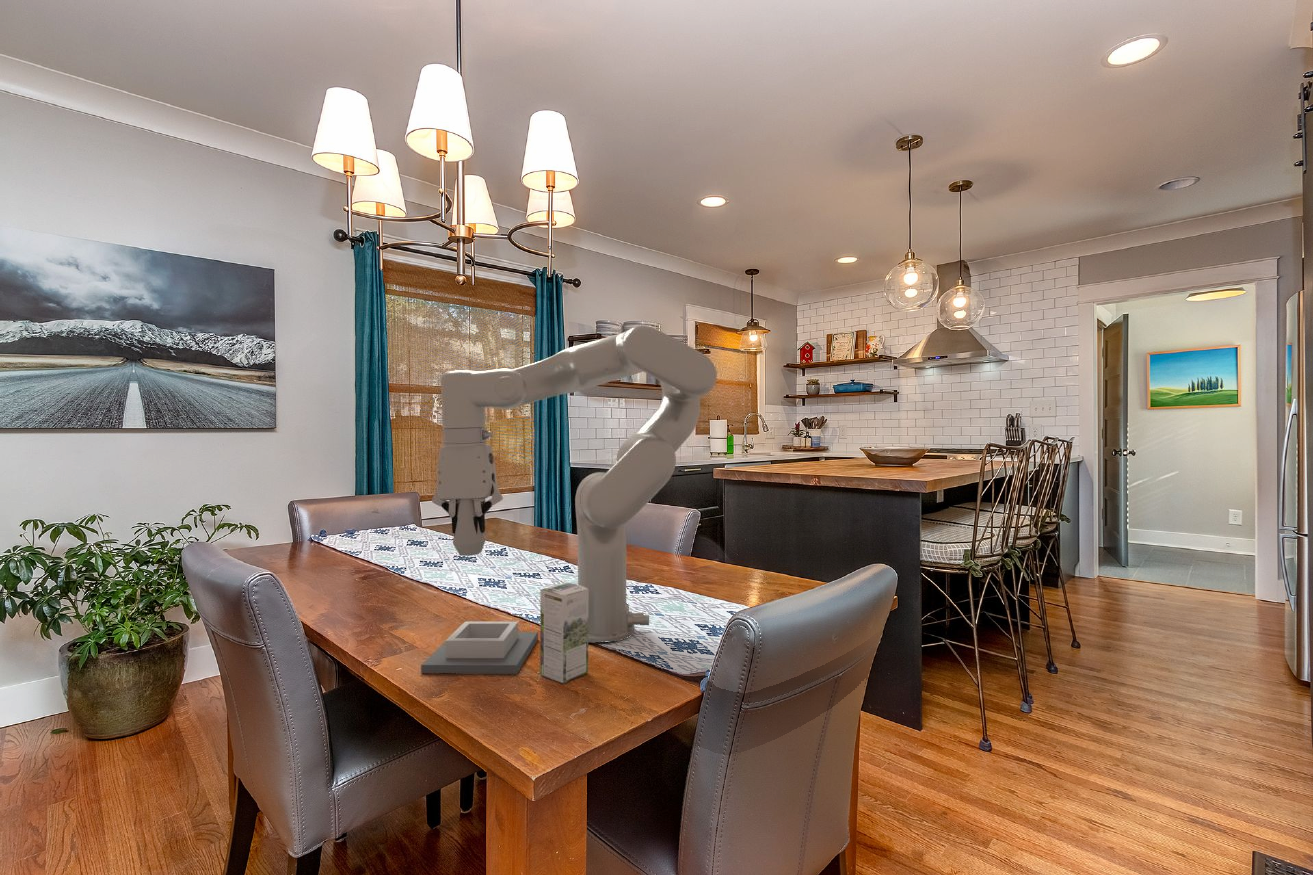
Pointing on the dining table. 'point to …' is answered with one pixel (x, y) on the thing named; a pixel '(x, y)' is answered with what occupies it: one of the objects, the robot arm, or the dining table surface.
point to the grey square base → (482, 649)
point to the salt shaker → (467, 530)
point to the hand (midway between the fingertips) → (469, 536)
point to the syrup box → (564, 632)
